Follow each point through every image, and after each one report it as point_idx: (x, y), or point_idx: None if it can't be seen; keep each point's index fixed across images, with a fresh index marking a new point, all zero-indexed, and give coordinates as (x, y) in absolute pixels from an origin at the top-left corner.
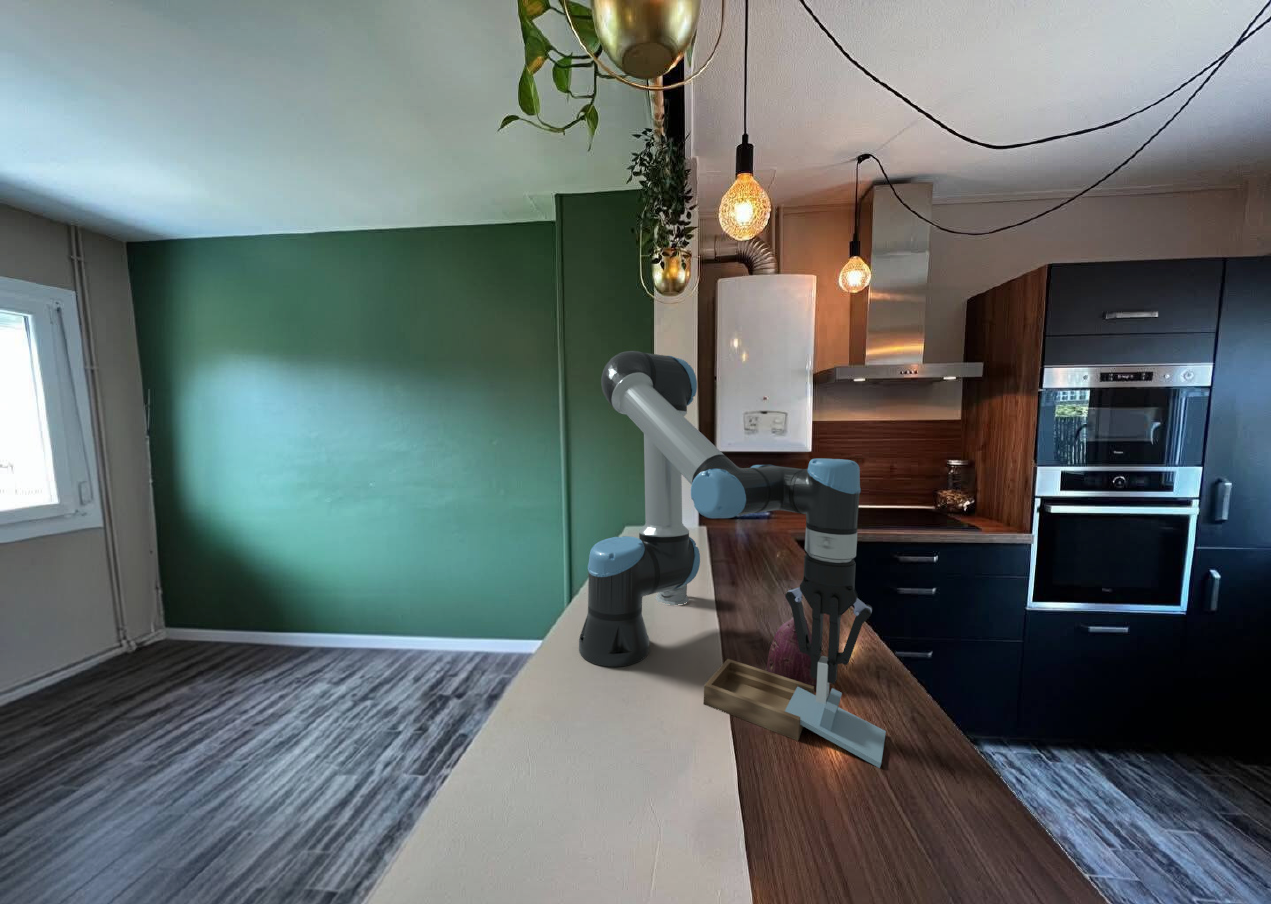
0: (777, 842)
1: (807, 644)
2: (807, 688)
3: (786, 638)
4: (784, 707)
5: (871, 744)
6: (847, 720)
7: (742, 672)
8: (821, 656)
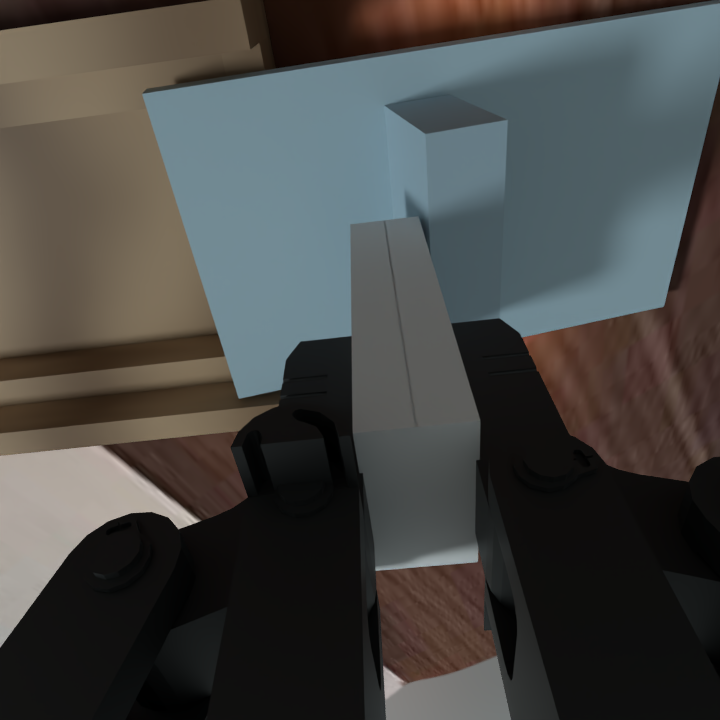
0: (417, 628)
1: (186, 673)
2: (207, 52)
3: None
4: (164, 203)
5: (637, 225)
6: (518, 145)
7: None
8: (364, 452)
